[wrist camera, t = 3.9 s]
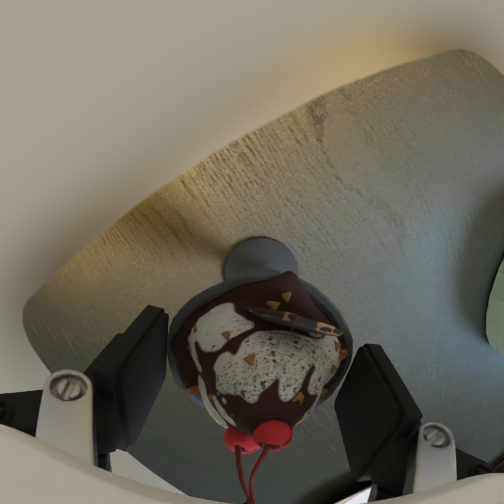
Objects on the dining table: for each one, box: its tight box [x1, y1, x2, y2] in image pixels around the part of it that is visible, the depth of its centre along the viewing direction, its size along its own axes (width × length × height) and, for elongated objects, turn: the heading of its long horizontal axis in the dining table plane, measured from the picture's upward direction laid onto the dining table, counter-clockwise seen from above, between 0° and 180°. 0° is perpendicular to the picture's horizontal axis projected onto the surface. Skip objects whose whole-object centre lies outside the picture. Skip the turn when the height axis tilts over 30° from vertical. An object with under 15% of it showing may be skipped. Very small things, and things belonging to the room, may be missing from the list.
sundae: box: [167, 238, 353, 504], centre depth 12 cm, size 7×7×15 cm
